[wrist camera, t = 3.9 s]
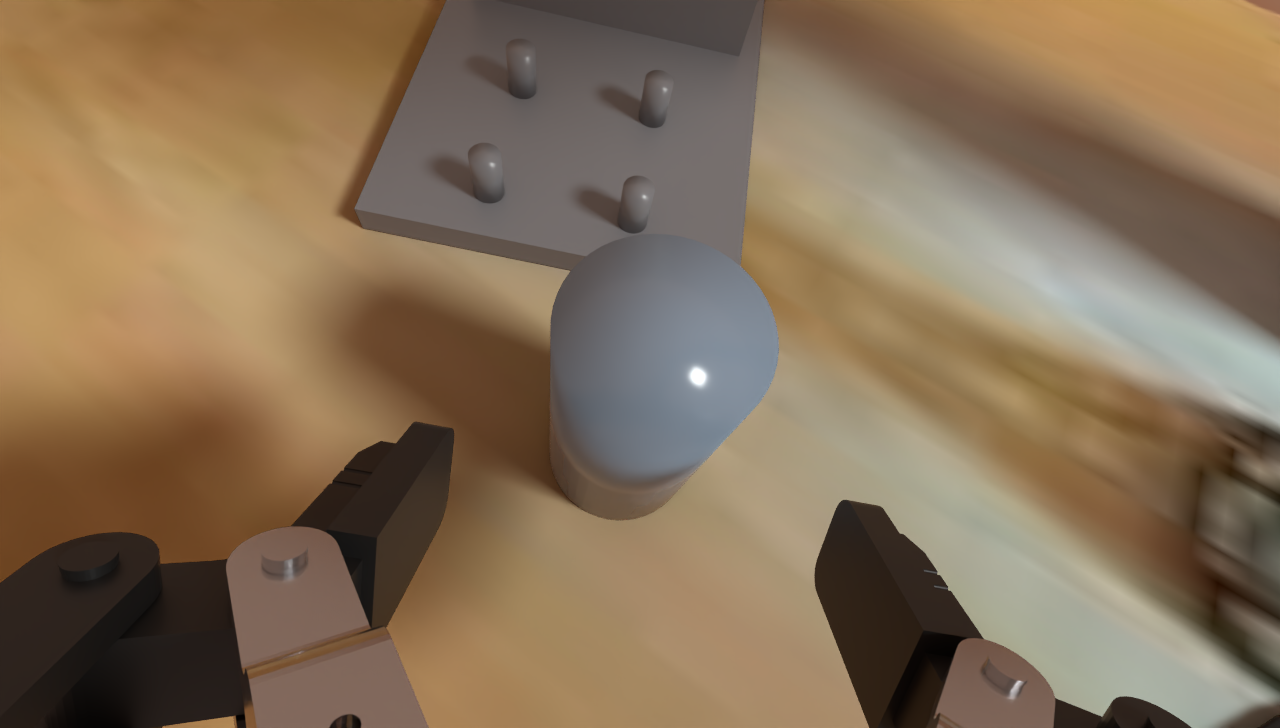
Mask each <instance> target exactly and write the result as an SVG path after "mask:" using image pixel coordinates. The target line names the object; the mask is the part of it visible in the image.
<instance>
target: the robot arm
mask: <svg viewBox="0 0 1280 728" xmlns="http://www.w3.org/2000/svg"><path fill="white" fill-rule="evenodd" d="M453 443H454V431H453V429H452V428H448V427H442V426H437V425H431V424H425V423H420V422H414V423H413V424H412V425H411V426H410V427H409V428H408V430H407V431H406V432H405V433H404V435H403V436H402V437H401V438H400V439H399V441H398V442H397V443H396V444H395V443H389V442H383V441H380V442H378V443H376V444H374V445H372V446H370V447H368V448H366V449H364V450H362V451H360V452H358V453H357V454H356V455H355V457H354V458H353V459H352V460H351V461H350V462H349V463H348V464H347V465H346V466H345V468H344V471H341V472H340V473H339V474H338V475H337V476H336V477H335V478H334V480H333V482H332V484H329V485H328V486H327V487H326V488H325V489H324V491H323V492H322V493H321V494H320V495H319V496H318V497H317V498H316V499H315V500H314V502H313V503H312V504H311V505H310V506H309V507H308V508H307V509H306V510H305V511H304V513H303V514H302V515H301V516H300V517H299V518H298V519H297V520H296V521H295V522H294V524H293V525H292V526H291V527H283V528H277V529H273V530H269V531H266V532H263V533H260V534H258V535H255V536H253V537H251V538H249V539H248V540H246V541H244V542H243V543H242V544H240V545H239V546H238V547H237V548H236V549H235V550H234V551H233V552H232V553H231V555H230V556H229V558H228V559H225V560H216V561H203V562H186V563H169V564H160V556H159V549H158V547H157V545H156V544H155V543H154V542H153V541H152V540H151V539H149V538H147V537H145V536H142V535H139V534H133V533H123V532H114V533H102V534H95V535H89V536H85V537H81V538H77V539H73V540H70V541H68V542H65V543H62V544H59V545H57V546H55V547H52V548H50V549H48V550H47V551H45V552H43V553H41V554H39V555H38V556H36V557H35V558H33V559H32V560H30V561H29V562H28V563H26V564H25V565H24V566H22V567H21V568H20V569H18V570H17V571H16V572H14V573H13V574H12V575H10V576H9V577H8V578H6V579H5V580H4V581H2V582H1V583H0V728H162V727H163V726H166V725H173V724H180V723H187V722H194V721H201V720H208V719H215V718H222V717H229V716H233V718H234V725H235V728H429V727H428V725H427V722H426V720H425V718H424V715H423V713H422V710H421V708H420V706H419V703H418V701H417V698H416V696H415V694H414V691H413V689H412V686H411V684H410V682H409V679H408V677H407V674H406V672H405V670H404V667H403V665H402V662H401V660H400V658H399V655H398V653H397V650H396V648H395V646H394V643H393V641H392V638H391V636H390V634H389V632H388V631H387V629H386V627H387V625H388V623H389V621H390V619H391V618H392V616H393V614H394V612H395V610H396V608H397V606H398V604H399V602H400V600H401V599H402V597H403V595H404V593H405V591H406V589H407V587H408V585H409V583H410V581H411V580H412V578H413V576H414V574H415V572H416V570H417V568H418V566H419V564H420V562H421V560H422V559H423V557H424V555H425V553H426V551H427V549H428V547H429V545H430V543H431V541H432V540H433V538H434V536H435V534H436V532H437V530H438V528H439V526H440V524H441V521H442V518H443V515H444V512H445V508H446V504H447V499H448V491H449V482H450V472H451V463H452V453H453ZM815 587H816V591H817V594H818V597H819V599H820V602H821V604H822V607H823V609H824V612H825V615H826V617H827V620H828V622H829V625H830V628H831V630H832V633H833V635H834V638H835V640H836V643H837V646H838V648H839V651H840V653H841V656H842V658H843V661H844V664H845V666H846V669H847V671H848V674H849V677H850V679H851V682H852V684H853V687H854V689H855V692H856V695H857V697H858V700H859V702H860V705H861V707H862V710H863V713H864V715H865V718H866V720H867V723H868V726H869V728H1191V727H1190V726H1189V725H1187V724H1186V723H1185V722H1183V721H1182V720H1180V719H1179V718H1177V717H1176V716H1174V715H1172V714H1171V713H1169V712H1167V711H1166V710H1164V709H1162V708H1160V707H1158V706H1156V705H1154V704H1152V703H1149V702H1147V701H1144V700H1141V699H1137V698H1134V697H1127V696H1126V697H1118V698H1116V699H1114V700H1113V701H1112V703H1111V704H1110V706H1109V708H1108V709H1107V711H1106V712H1105V714H1104V715H1103V717H1101V716H1098V715H1096V714H1093V713H1091V712H1088V711H1086V710H1083V709H1081V708H1078V707H1076V706H1073V705H1071V704H1068V703H1066V702H1063V701H1061V700H1058V699H1056V698H1055V696H1054V693H1053V691H1052V689H1051V687H1050V685H1049V684H1048V682H1047V681H1046V679H1045V678H1044V677H1043V676H1042V675H1041V674H1040V672H1039V671H1038V670H1036V669H1035V668H1034V667H1033V666H1032V665H1031V664H1030V663H1029V662H1027V661H1026V660H1025V659H1023V658H1022V657H1021V656H1019V655H1018V654H1016V653H1014V652H1013V651H1011V650H1009V649H1008V648H1006V647H1004V646H1002V645H999V644H997V643H994V642H991V641H988V640H984V639H983V637H982V636H981V634H980V633H979V631H978V630H977V628H976V627H975V625H974V624H973V623H972V621H971V620H970V618H969V617H968V615H967V614H966V612H965V611H964V609H963V608H962V607H961V605H960V604H959V602H958V601H957V599H956V598H955V596H954V595H953V593H952V592H951V591H948V586H947V585H946V583H945V582H944V580H943V579H942V577H941V576H940V575H937V570H936V569H935V567H934V566H933V564H932V563H931V561H930V560H929V558H928V557H927V556H926V554H925V553H924V552H923V551H922V550H921V549H920V548H919V547H917V546H916V545H915V544H914V543H913V542H912V541H911V540H909V539H908V538H907V537H906V536H905V535H904V534H900V533H899V532H898V530H897V529H896V527H895V526H894V524H893V523H892V521H891V520H890V518H889V517H888V515H887V514H886V512H885V511H884V509H883V508H882V507H880V506H877V505H871V504H866V503H860V502H855V501H849V500H843V501H841V502H840V503H839V504H838V506H837V508H836V510H835V513H834V516H833V518H832V521H831V524H830V526H829V529H828V532H827V534H826V537H825V540H824V542H823V545H822V548H821V550H820V553H819V556H818V559H817V562H816V567H815Z"/></svg>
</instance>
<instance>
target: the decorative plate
mask: <svg viewBox="0 0 1280 728" xmlns="http://www.w3.org/2000/svg"><path fill="white" fill-rule="evenodd" d="M1258 728H1280V715H1278V716H1276V717H1274V718H1272V719H1271V720H1269V721H1268V722H1266V723H1265V724H1263V725H1261V726H1260V727H1258Z"/></svg>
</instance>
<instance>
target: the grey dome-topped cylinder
mask: <svg viewBox="0 0 1280 728" xmlns="http://www.w3.org/2000/svg"><path fill="white" fill-rule="evenodd" d="M778 353H779V344H778V333H777V326H776V322H775V319H774V316H773V312H772V310H771V308H770V306H769V303H768V301H767V299H766V298H765V296H764V294H763V293H762V291H761V289H760V288H759V286H758V285H757V284H756V283H755V281H754V280H753V279H752V277H751V276H750V275H749V274H748V273H747V272H746V271H745V270H744V269H743V268H742V267H740V266H739V265H738V264H737V263H736V262H734V261H733V260H732V259H731V258H729V257H727V256H726V255H724V254H723V253H721V252H720V251H718V250H716V249H714V248H712V247H710V246H708V245H706V244H703V243H701V242H698V241H695V240H692V239H688V238H685V237H681V236H674V235H668V234H642V235H635V236H629V237H625V238H622V239H618V240H615V241H612V242H610V243H608V244H606V245H603V246H601V247H599V248H598V249H596V250H595V251H593V252H591V253H590V254H588V255H587V256H586V257H585V258H584V259H582V260H581V261H580V262H579V263H578V264H577V265H576V266H575V267H574V268H573V269H572V270H571V271H570V273H569V274H568V276H567V277H566V279H565V280H564V281H563V283H562V285H561V287H560V289H559V291H558V293H557V296H556V299H555V302H554V305H553V310H552V316H551V342H550V462H551V467H552V471H553V474H554V476H555V478H556V481H557V483H558V484H559V486H560V488H561V489H562V491H563V492H564V493H565V495H566V496H567V497H568V498H569V499H570V500H571V501H572V502H573V503H574V504H576V505H577V506H578V507H580V508H581V509H583V510H584V511H586V512H588V513H590V514H592V515H595V516H597V517H601V518H605V519H610V520H630V519H636V518H640V517H643V516H646V515H648V514H650V513H652V512H654V511H656V510H657V509H659V508H660V507H662V506H663V505H664V504H665V503H667V502H668V501H669V500H670V499H671V498H672V496H673V495H674V494H675V493H676V492H677V491H678V490H679V489H680V488H681V487H682V486H683V485H684V484H685V482H686V481H687V480H688V479H689V478H690V477H691V476H692V475H693V474H694V473H695V472H696V471H697V470H698V468H699V467H700V466H701V465H702V464H703V463H704V462H705V461H706V460H707V459H708V458H709V457H710V456H711V454H712V453H713V452H714V451H715V450H716V449H717V448H718V447H719V446H720V445H721V444H722V443H723V442H724V441H725V439H726V438H727V437H728V436H729V435H730V434H731V433H732V432H733V431H734V430H735V429H736V428H737V427H738V425H739V424H740V423H741V422H742V421H743V420H744V419H745V418H746V417H747V416H748V415H749V414H750V413H751V411H752V410H753V409H754V408H755V407H756V406H757V405H758V404H759V402H760V401H761V400H762V398H763V397H764V395H765V394H766V392H767V390H768V388H769V386H770V384H771V382H772V380H773V377H774V374H775V370H776V366H777V361H778Z"/></svg>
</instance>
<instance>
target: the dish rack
mask: <svg viewBox="0 0 1280 728" xmlns="http://www.w3.org/2000/svg"><path fill="white" fill-rule="evenodd" d="M763 11H764V0H446V2H445V4H444V7H443V9H442V11H441V13H440V16H439V18H438V20H437V22H436V25H435V27H434V29H433V31H432V34H431V36H430V38H429V41H428V43H427V45H426V47H425V50H424V52H423V54H422V56H421V59H420V61H419V63H418V65H417V68H416V70H415V72H414V75H413V77H412V79H411V81H410V84H409V86H408V88H407V90H406V93H405V95H404V97H403V99H402V102H401V104H400V106H399V109H398V111H397V113H396V115H395V118H394V120H393V122H392V124H391V127H390V129H389V131H388V133H387V136H386V138H385V140H384V143H383V145H382V147H381V149H380V152H379V154H378V156H377V158H376V161H375V163H374V165H373V167H372V170H371V172H370V174H369V177H368V179H367V181H366V183H365V186H364V188H363V190H362V192H361V195H360V197H359V199H358V201H357V204H356V206H355V208H354V209H355V212H356V214H357V216H358V218H359V220H360V222H361V225H362V227H363V228H365V229H370V230H375V231H380V232H384V233H389V234H394V235H399V236H404V237H409V238H414V239H419V240H424V241H429V242H434V243H439V244H444V245H449V246H453V247H458V248H463V249H468V250H473V251H478V252H483V253H488V254H493V255H498V256H503V257H508V258H513V259H517V260H522V261H527V262H532V263H537V264H542V265H547V266H552V267H557V268H562V269H567V270H572V269H573V268H574V267H575V266H576V265H577V264H578V263H579V262H580V261H581V260H582V259H584V258H585V257H586V256H587V255H588V254H590V253H591V252H593V251H595V250H596V249H598V248H599V247H601V246H603V245H606V244H608V243H610V242H612V241H615V240H618V239H622V238H625V237H629V236H635V235H642V234H668V235H674V236H681V237H685V238H688V239H692V240H695V241H698V242H701V243H703V244H706V245H708V246H710V247H712V248H714V249H716V250H718V251H720V252H721V253H723V254H724V255H726V256H727V257H729V258H731V259H732V260H733V261H734V262H736V263H737V264H738V265H739V266H740V265H741V254H742V243H743V232H744V221H745V210H746V199H747V188H748V177H749V166H750V155H751V144H752V133H753V122H754V111H755V99H756V88H757V77H758V66H759V55H760V44H761V33H762V22H763Z"/></svg>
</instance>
